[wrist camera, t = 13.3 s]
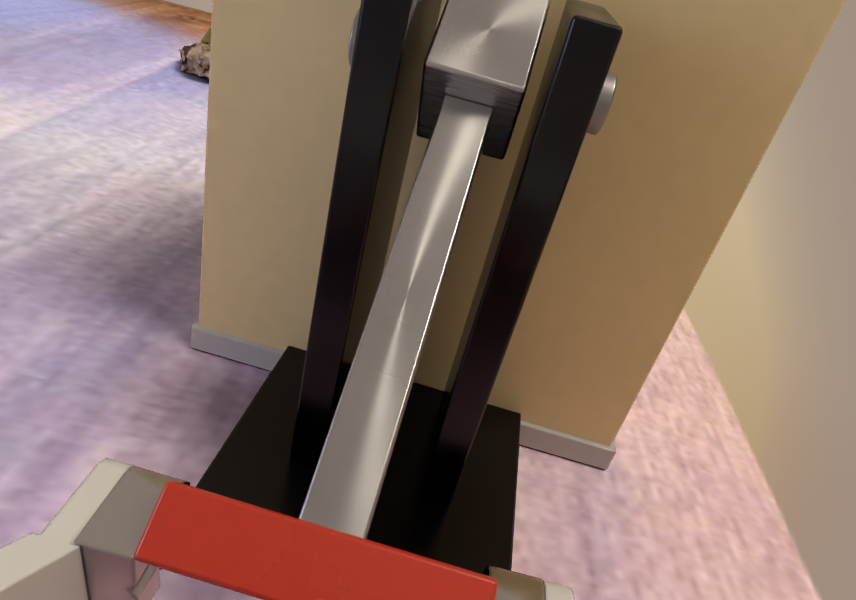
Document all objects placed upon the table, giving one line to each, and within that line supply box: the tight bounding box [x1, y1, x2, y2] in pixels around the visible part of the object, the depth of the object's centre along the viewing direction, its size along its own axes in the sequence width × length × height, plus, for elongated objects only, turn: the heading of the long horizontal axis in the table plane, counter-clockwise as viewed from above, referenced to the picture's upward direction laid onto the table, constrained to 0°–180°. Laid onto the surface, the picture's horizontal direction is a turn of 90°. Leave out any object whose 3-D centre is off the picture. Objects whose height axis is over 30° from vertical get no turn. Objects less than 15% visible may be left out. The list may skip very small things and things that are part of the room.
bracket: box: [196, 0, 623, 574], centre depth 17 cm, size 10×9×15 cm
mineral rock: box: [179, 28, 211, 79], centre depth 55 cm, size 11×4×8 cm
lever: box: [134, 0, 550, 600], centre depth 12 cm, size 13×5×2 cm
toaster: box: [190, 0, 846, 470], centre depth 24 cm, size 11×16×17 cm
